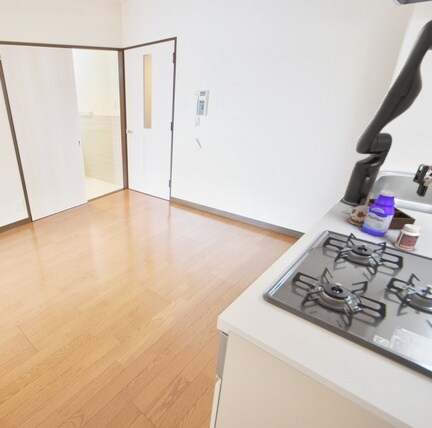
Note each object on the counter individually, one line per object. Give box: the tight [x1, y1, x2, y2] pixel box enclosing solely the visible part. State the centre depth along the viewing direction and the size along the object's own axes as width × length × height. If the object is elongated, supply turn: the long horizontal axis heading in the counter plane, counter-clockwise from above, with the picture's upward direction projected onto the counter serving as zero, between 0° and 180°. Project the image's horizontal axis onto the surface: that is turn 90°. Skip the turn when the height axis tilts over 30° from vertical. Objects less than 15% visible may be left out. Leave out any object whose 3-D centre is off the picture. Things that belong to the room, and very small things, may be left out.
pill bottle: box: [394, 224, 422, 251], centre depth 98 cm, size 5×5×8 cm
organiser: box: [359, 198, 416, 231], centre depth 120 cm, size 21×8×5 cm, turn 167°
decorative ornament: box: [347, 189, 374, 227], centre depth 114 cm, size 8×8×15 cm
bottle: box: [362, 189, 397, 237], centre depth 106 cm, size 7×6×17 cm
